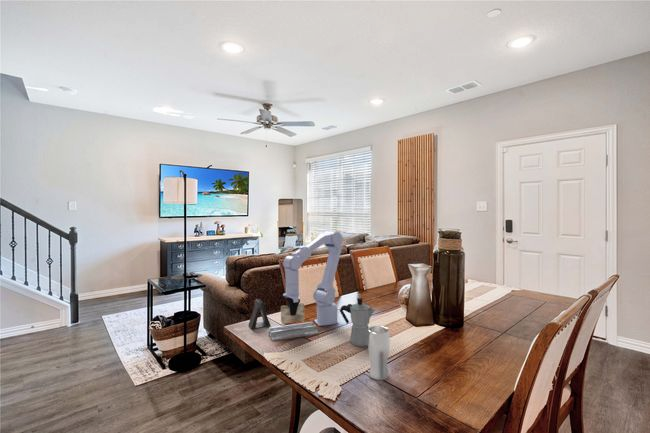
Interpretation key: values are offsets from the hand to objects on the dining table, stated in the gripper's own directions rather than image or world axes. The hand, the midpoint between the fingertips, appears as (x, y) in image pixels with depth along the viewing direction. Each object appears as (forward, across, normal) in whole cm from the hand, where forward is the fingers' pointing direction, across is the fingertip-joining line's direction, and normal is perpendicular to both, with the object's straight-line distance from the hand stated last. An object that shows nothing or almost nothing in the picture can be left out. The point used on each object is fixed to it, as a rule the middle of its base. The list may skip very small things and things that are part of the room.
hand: (292, 314), depth 132 cm
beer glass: (+9, +43, +19) cm, 48 cm away
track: (+8, 0, 0) cm, 8 cm away
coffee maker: (+9, +18, +23) cm, 30 cm away
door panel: (+3, 0, 0) cm, 3 cm away
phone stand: (+9, -14, -13) cm, 21 cm away
